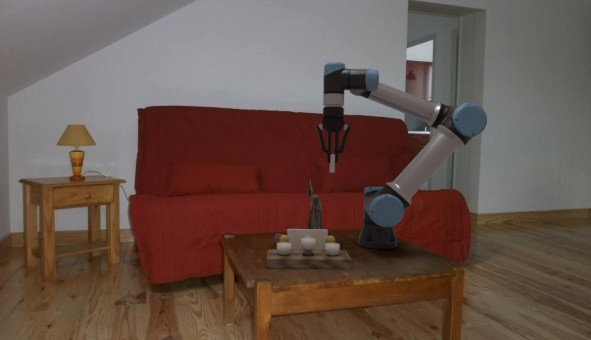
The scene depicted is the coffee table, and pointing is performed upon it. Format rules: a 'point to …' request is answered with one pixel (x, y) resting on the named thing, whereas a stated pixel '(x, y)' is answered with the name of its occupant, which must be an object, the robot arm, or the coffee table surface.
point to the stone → (278, 237)
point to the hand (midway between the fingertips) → (332, 172)
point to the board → (308, 260)
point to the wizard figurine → (314, 210)
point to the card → (297, 234)
